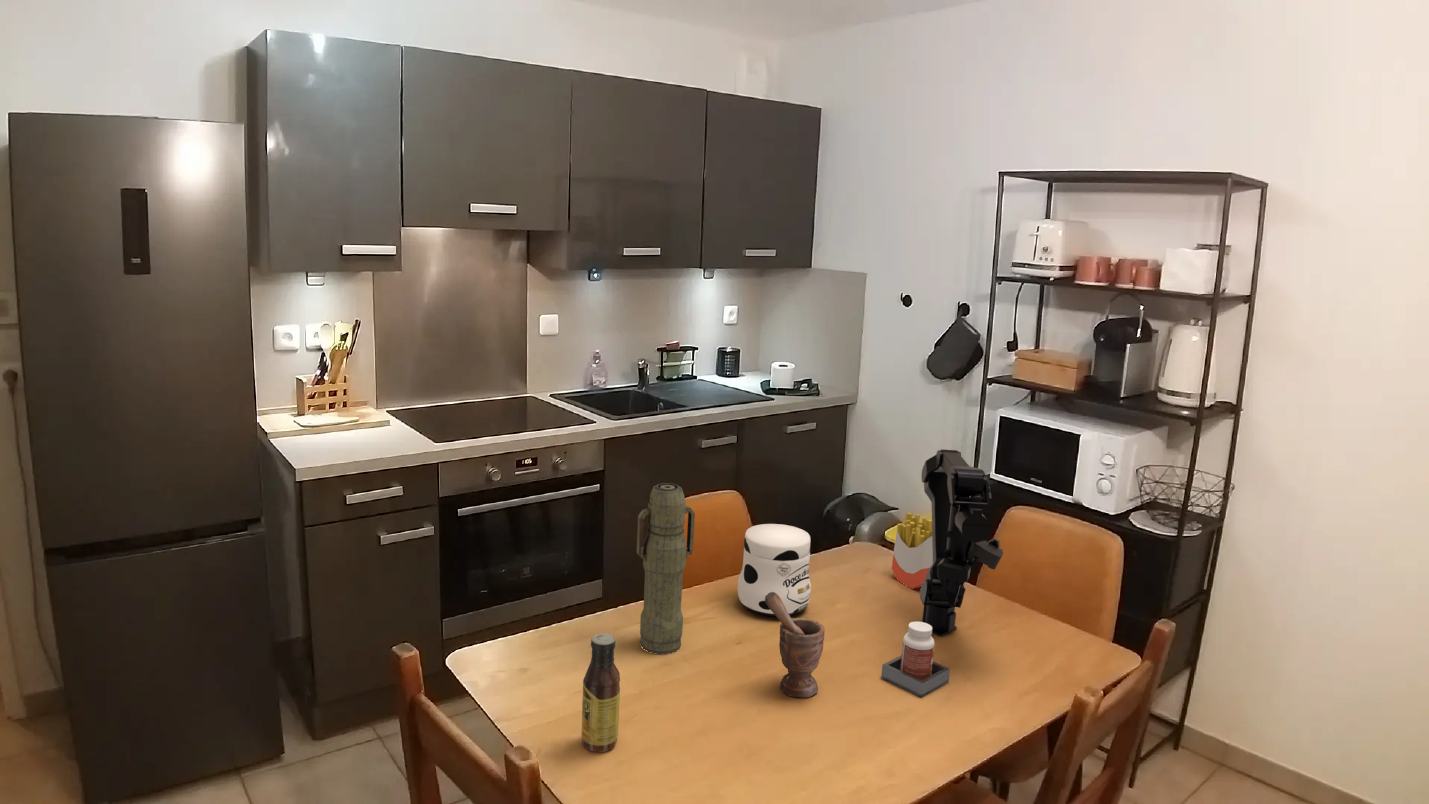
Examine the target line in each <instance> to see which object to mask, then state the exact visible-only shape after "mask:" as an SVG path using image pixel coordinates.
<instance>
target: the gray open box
mask: <svg viewBox="0 0 1429 804" xmlns="http://www.w3.org/2000/svg"><path fill="white" fill-rule="evenodd" d="M901 657H902V654H901V655H899V656H897V657H895V658H893V659H891V660H889V661H887V662H885V663H883V664H882V666H881V676H880V679H882V680H884V681H886V682H888V683H890V684H892V685H894V686H896V687H899V688H901V689H903V690H904V691H906V692H908V693H911V694H913V695H915V696H917V697H919V698H924V697H925V696H927V695H928V694H930V693H932V692H934V691H936V690H938V689H940V688H942V687H943V686H945V685H947V684H948V683H949V681H950V680H949V679H950V671H951V668H949V667H947V666H946V665H945V666H944V665H942V664H940V663H938V662H936V661H933V664H932V674H931V676H930V677H928V678H926V679H924V680H922V681H921V680H919V679H917V678H915V677H913V676H911V675H909V674H906V673H904V672H902V671H900V668H901Z"/></svg>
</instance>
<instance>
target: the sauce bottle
mask: <svg viewBox="0 0 1429 804" xmlns="http://www.w3.org/2000/svg"><path fill="white" fill-rule="evenodd" d="M590 647H591V658H590V662H589V665H588V668H587V670H586V672H585V675H584V678H583V679H582V680H583V681H582V684H583V685H582V704H581V705H582V706H581V707H582V708H581V715H582V716H581V740H582V741H581V742H582V745H583V747H584V748H585V749H586V750H587V751H589V752H595V753H605V752H609V751H611V750H613V749H614V748H615V746H616V744H617V743H618V737H619V721H620V719H619V718H620V698H621V686H620V682H621V675H620V674H621V673H620V671H619V669H618V667H617V666H616V664H615V657H614V656H615V648H616V637H615V636H614V635H612V634H611V633H604V632H603V633H597V634H595V635H593V636H592V637H591V640H590Z"/></svg>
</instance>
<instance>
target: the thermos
mask: <svg viewBox="0 0 1429 804" xmlns="http://www.w3.org/2000/svg"><path fill="white" fill-rule="evenodd" d="M647 504H648V505H647V508H642V510H641V511H640V512H639V514H638V515H637V532H636V533H637V534H636V551H635V552H636V554H637V555H638V557H640V558H641V559H642V560H643V561H642V566H643V569H644V587H643V588H644V591H643V593H644V594H643V609H642V610H641V613H640V623H639V627H640V628H639V634H640V643H639V644H641V645H640V647H641V646H642V647H643V649H645V650H647V651H648V652H647V651H646V652H647V653H649V652H652V653H651V654H653V653H657V654H656V655H669V654H668V653H670V654H673V653H672V652H674V653H676V652H678V651H679V650H681V646H682V636H683V629H684V615H683V612H682V594H683V593H682V592H683V575H684V574H683V573H684V571H685V568H686V561H687V560H686V559H688V556H690V555H692V554H693V550H694V537H695V536H694V535H695V534H694V533H695V516H696V515H695V511H693V509H692V508H691V507H690V506H689V505H686V499H685V494H684V491H683V488H682V487H681V486H679V485H678V484H675V483H668V482H667V483H665V482H664V483H658V484H656V485H653V487H652V489H651V492H650V495H649V498H648V503H647ZM686 515H687V530H686V531H687V532H686V533H687V534H686V538H685V529H684V526H685V520H686V519H685V518H686ZM646 517H647V523H648V527H647V532H646V536H645V518H646ZM644 537H645V538H644ZM643 649H642V650H643ZM645 650H644V651H645ZM677 650H678V651H677Z"/></svg>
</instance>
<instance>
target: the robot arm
mask: <svg viewBox="0 0 1429 804" xmlns="http://www.w3.org/2000/svg"><path fill="white" fill-rule="evenodd" d="M920 477H921V482H922V483H923V488H924V489H923V491H924V494H925V495H926V496H927V498H928V499H929V501H930V502H931V520H932V547H933V564H932V565H931V567H930V569H929V570H928V572H927V574H926V579H925V580H924V582H923V584H922V586H921V588H919V599H920V601H921V603H922V605H923V609H922V610H923V611H922V620H921V622H924V623H927V624H929V625H931V626H932V634H936V635H937V636H941V637H943V636H944V635H947V634H949V633H951V632H952V631H955V630H957V628H958V627H957V626H956V618H957V613H956V608H959V609H960V608H961V606H962V604H963V600H964V596H965V593H966V589H967V588H966V587H965V583H967V582H968V580H969V578H970V574H971V568H972V567H973V566H974V565H976V564H977V562H980V563H981V564H984V565H985V566H987V568H989V569H991V570H996V568H997V567H998V564H999V563H1000V561H1001V560H1002V557H1003V555H1004V551H1003V549H1002V548H1000V547H1001V545H1000V544H1001V543H1000V541H999V540H998V539H996V538H994V537H993V538H991V539H990V540H988V541H987V540H986V539H987V538H988V537H989V535H990V534H991V527H992V526H991V524H990V521H989V520H988V519H987V518H986V517H985V515H984V514H983V508H990V506H991V501H992V499H993V498H992V491H991V484H990V480H989V478H988V475H986V472H985V471H984V470H983V468H982V469H981V468H979V467H973V466H970V465H969V464H968V463H967V462H966V460H965V459H964V458H963V457H962V453H961V451H958V450H956V449H939V450H937V451H936V453H935V455H933V456H931V457H929V458H928V459H927V460H925V462H924V465H923V466H922V470H921V476H920Z"/></svg>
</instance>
